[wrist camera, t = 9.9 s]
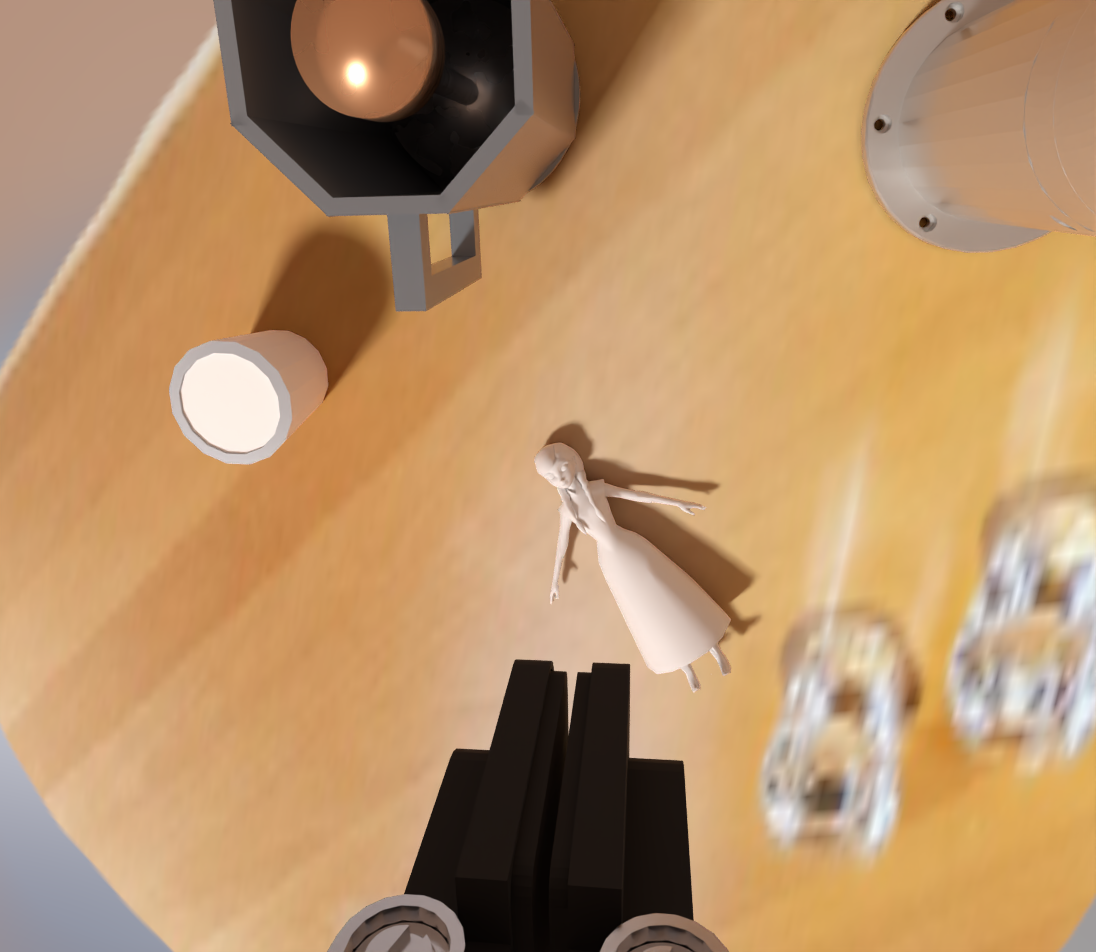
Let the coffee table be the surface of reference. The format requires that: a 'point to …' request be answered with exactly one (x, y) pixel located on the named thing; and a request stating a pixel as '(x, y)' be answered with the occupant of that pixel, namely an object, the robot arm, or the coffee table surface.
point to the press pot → (378, 156)
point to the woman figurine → (637, 570)
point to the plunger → (412, 69)
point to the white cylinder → (247, 393)
